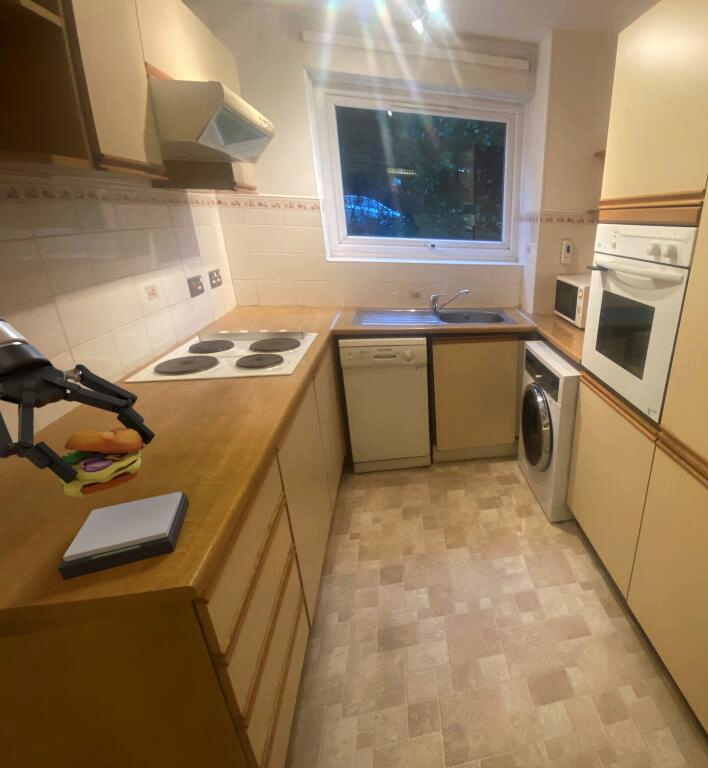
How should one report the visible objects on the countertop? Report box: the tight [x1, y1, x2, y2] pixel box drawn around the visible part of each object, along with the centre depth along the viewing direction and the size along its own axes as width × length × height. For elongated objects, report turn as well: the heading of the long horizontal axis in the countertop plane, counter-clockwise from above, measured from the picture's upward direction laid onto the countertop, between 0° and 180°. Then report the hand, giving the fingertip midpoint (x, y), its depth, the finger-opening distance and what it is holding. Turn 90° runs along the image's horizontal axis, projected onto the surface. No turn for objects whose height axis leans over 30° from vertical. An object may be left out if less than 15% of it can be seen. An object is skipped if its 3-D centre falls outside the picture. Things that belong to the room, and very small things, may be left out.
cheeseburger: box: [57, 427, 147, 499], centre depth 70 cm, size 10×11×10 cm
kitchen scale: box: [57, 491, 190, 580], centre depth 75 cm, size 14×14×3 cm
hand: (114, 457), depth 69 cm, fingers closed on cheeseburger, 11 cm apart
